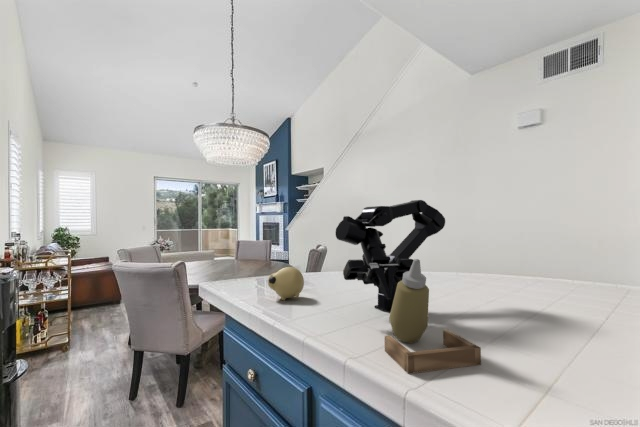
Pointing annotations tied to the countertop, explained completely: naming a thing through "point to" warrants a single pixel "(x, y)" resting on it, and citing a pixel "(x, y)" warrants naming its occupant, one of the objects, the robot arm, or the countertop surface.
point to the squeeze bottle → (410, 305)
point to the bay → (435, 354)
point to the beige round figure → (287, 282)
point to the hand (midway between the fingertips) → (389, 298)
